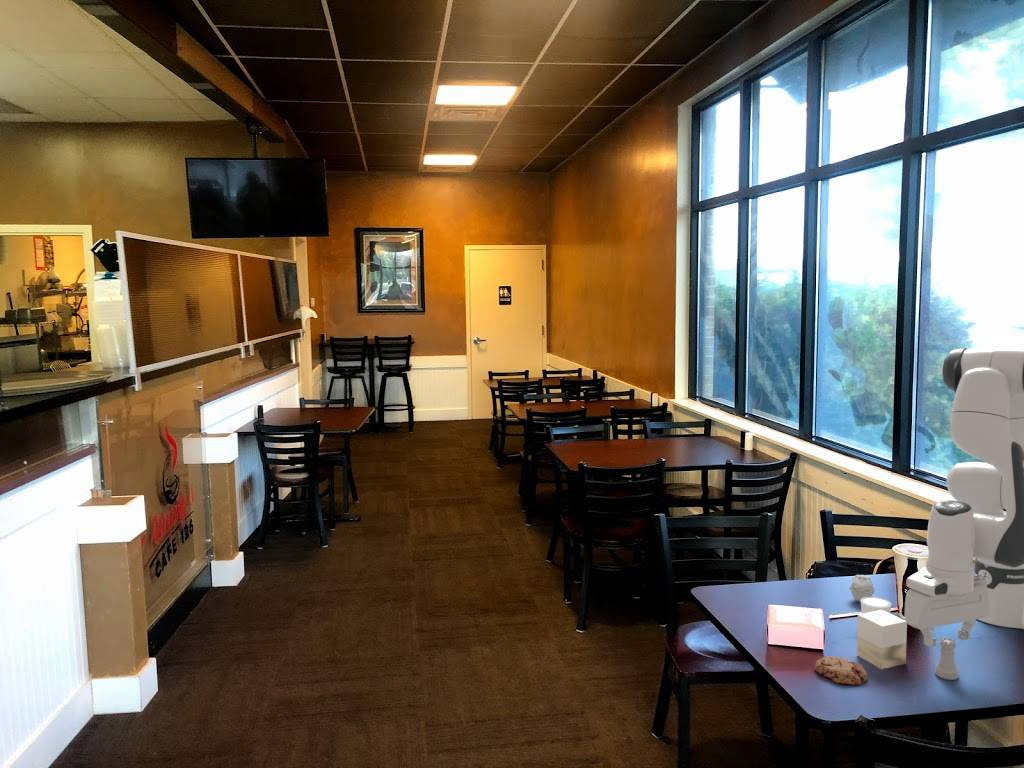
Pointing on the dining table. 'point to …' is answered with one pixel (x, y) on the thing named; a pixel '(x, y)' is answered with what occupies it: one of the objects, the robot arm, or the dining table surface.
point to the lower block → (881, 654)
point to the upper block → (882, 628)
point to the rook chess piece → (947, 660)
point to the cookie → (841, 670)
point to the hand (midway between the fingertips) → (947, 642)
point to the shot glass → (874, 604)
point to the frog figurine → (861, 587)
